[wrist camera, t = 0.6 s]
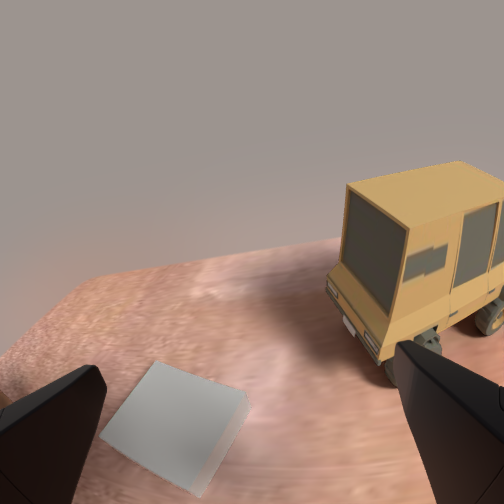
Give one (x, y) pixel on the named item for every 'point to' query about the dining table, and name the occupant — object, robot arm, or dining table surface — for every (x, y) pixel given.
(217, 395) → the grey block
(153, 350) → the dining table surface
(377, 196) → the toy car
